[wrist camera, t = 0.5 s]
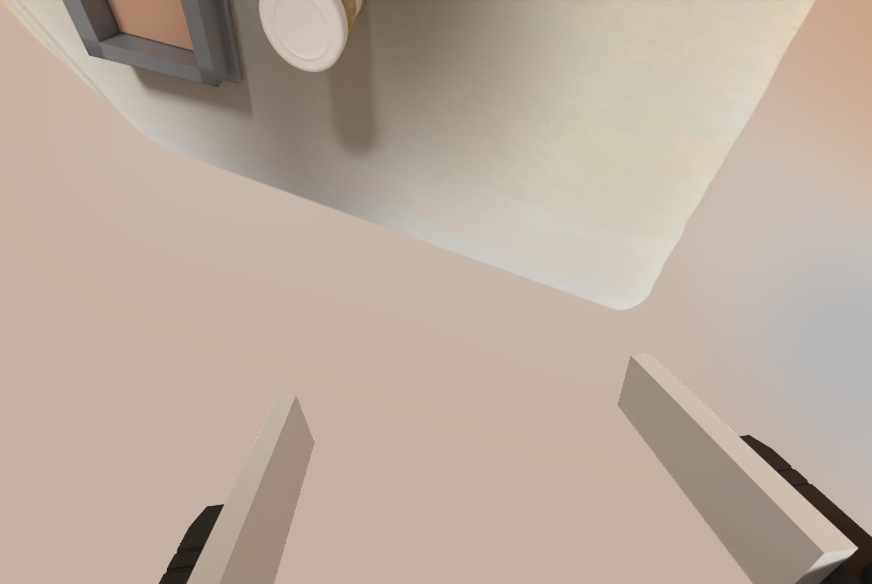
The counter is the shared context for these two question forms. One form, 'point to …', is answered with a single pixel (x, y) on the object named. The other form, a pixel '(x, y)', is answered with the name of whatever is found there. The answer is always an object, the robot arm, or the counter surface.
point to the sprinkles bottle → (309, 30)
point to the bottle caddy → (161, 36)
